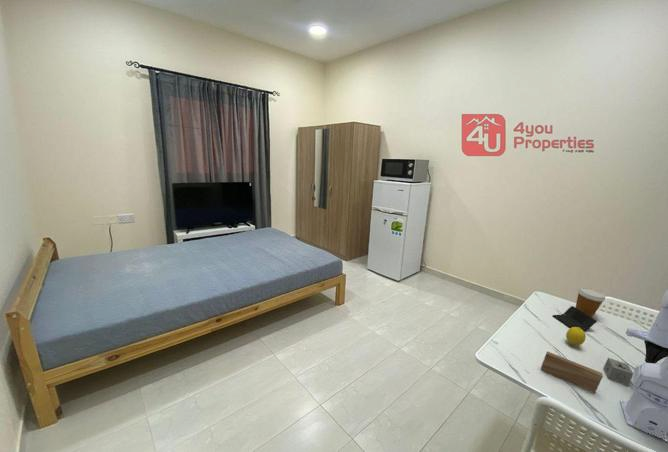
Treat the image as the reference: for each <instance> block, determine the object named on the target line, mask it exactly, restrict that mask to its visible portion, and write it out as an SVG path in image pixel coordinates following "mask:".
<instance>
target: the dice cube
mask: <svg viewBox="0 0 668 452" xmlns="http://www.w3.org/2000/svg"><path fill="white" fill-rule="evenodd" d="M602 370H603V372H604V373H605V377H606V378H607V379H608V380H610V381H613V382H616V383H619V384H622V385H624V386H626V387H627V386H628V387H629V384H630V382H631V381H632V375H633V372H634V371H632V368H630V365H629V364H628V363H625V362H622V361H619V360H617V359H613V358H610V357H607V360H606V362H605V363H604V365H603V368H602Z"/></svg>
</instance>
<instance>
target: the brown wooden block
mask: <svg viewBox="0 0 668 452" xmlns="http://www.w3.org/2000/svg"><path fill="white" fill-rule="evenodd" d="M540 371H542V372H544V373H545V374H546V373H547V374H549V375H551V376H553V377H554V378H555V377H556V378H557V379H560V380H561V381H564V382H567V383H570V384H572V385H574V386H576V387H579V388H581V389H582V390H586V391H587V392H589V393H593V394H596V392H597V390H598V388H599V385H600V383H601V381H602V379H603V378H604V376H603V372H600V371H598V370H596V369H592V368H590V367H588V366H585V365H583V364H581V363H577V362H575V361H573V360H570V359H568V358H566V357H563V356H560V355H557V354H555V353H552V352H550V351H546V354H545V355H544V358H543V361H542V364H541V366H540Z"/></svg>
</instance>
